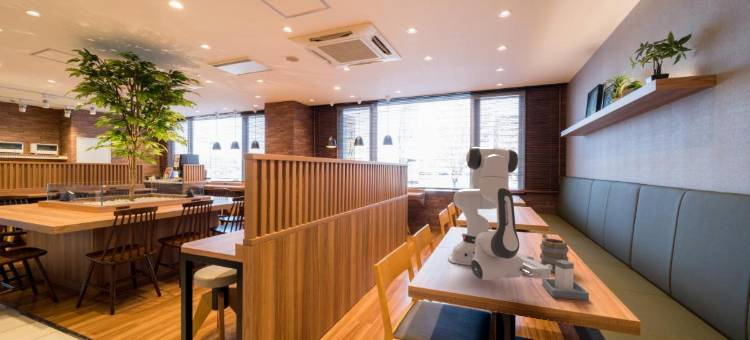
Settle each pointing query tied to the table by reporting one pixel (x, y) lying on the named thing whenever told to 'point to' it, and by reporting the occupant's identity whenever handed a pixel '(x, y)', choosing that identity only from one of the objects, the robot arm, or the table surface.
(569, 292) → the walled box
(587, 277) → the table surface
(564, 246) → the tankard
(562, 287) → the plug
